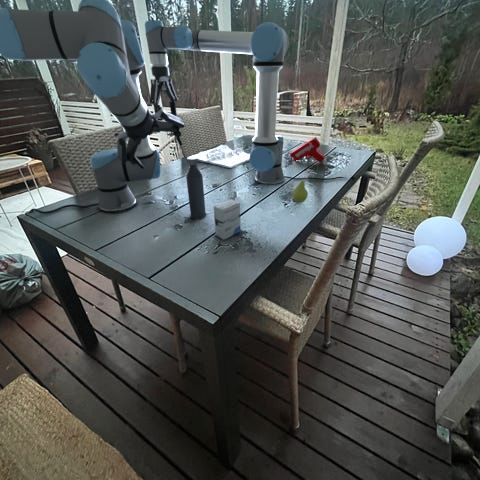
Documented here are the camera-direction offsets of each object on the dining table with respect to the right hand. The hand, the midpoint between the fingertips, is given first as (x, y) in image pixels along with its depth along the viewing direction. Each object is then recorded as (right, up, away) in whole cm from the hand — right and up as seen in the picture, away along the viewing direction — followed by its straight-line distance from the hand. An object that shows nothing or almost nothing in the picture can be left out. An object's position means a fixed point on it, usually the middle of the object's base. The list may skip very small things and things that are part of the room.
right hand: (167, 118), depth 131 cm
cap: (+18, -29, -32) cm, 47 cm away
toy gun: (+78, -9, +41) cm, 88 cm away
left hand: (+11, -32, -48) cm, 59 cm away
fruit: (+62, -42, -9) cm, 75 cm away
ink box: (+31, -57, -32) cm, 72 cm away
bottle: (+18, -49, -20) cm, 56 cm away
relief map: (+24, -5, +49) cm, 55 cm away
